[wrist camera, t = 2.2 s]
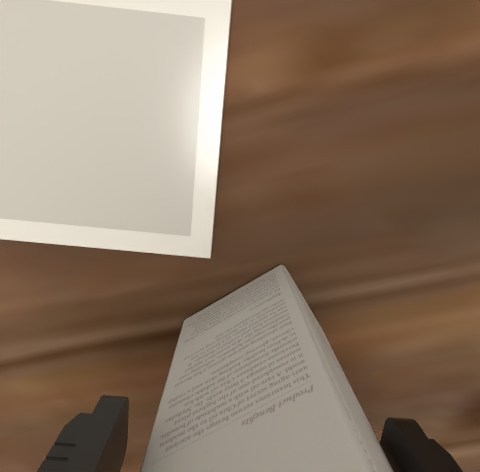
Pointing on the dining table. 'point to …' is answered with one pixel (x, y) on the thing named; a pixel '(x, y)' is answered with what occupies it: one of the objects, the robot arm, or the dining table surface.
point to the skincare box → (259, 392)
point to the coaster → (112, 122)
